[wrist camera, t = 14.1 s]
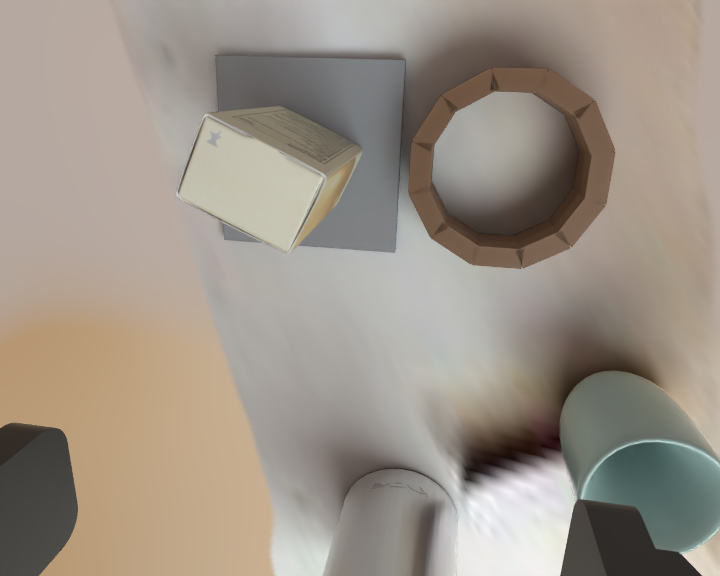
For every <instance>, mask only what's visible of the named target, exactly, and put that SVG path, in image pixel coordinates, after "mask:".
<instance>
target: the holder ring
mask: <svg viewBox="0 0 720 576" xmlns="http://www.w3.org/2000/svg"><path fill="white" fill-rule="evenodd" d="M494 91H499V92H529V93H533V94H535V95H536V96H538V97H539V98H541V99H542V100H544V101H545V102H547V103H548V104H549V105H551V106H552V107H554V108H555V109H557V110H558V111H560V112H561V113H563V114H564V115H565V118H566V120H567V122H568V125H569V127H570V130H571V132H572V134H573V137H574V139H575V141H576V144H577V146H578V149H579V154H578V161H577V167H576V173H575V180H574V186H573V190H572V191H571V192H570V193H569V195H568V196H567V197H566V199H565V200H564V201H563V202H562V204H561V205H560V206H559V207H558V209H557V210H556V211H555V213H554V214H553V215H552V216H551V218H550V219H549V220H547V221H545V222H543V223H540V224H538V225H536V226H534V227H532V228H529V229H527V230H525V231H523V232H520V233H518V234H516V235H501V234H486V233H477V232H475V231H474V230H472V229H471V228H469V227H468V226H466V225H465V224H463V223H462V222H460V221H458V220H457V219H455V218H454V217H452V216H451V215H449V214H448V213H447V211H446V209H445V207H444V205H443V203H442V201H441V199H440V197H439V195H438V193H437V191H436V189H435V187H434V185H433V183H432V169H433V156H434V144H435V143H436V141H437V140H438V138H439V137H440V135H441V134H442V132H443V131H444V129H445V128H446V126H447V125H448V123H449V121H450V120H451V118H452V117H453V115H454V114H455V112H457V111H458V110H460V109H462V108H464V107H466V106H468V105H470V104H472V103H473V102H475V101H477V100H479V99H481V98H483V97H485V96H487V95H488V94H490V93H492V92H494ZM442 95H443V96H440V98H439V99H438V101H437V102H436V104H435V105H434V107H433V109H432V110H431V112H430V113H429V115H428V116H427V118H426V120H425V121H424V123H423V124H422V126H421V127H420V129H419V130H418V132H417V134H416V135H415V137H414V138H413V140H412V142H411V158H410V174H409V190H408V193H409V196H410V198H411V200H412V202H413V204H414V206H415V208H416V210H417V212H418V214H419V216H420V218H421V220H422V222H423V224H424V226H425V228H426V230H427V232H428V234H429V236H430V237H431V239H433V240H435V241H436V242H438V243H439V244H441V245H442V246H444V247H445V248H447V249H448V250H450V251H451V252H453V253H454V254H456V255H457V256H459V257H460V258H462V259H463V260H465V261H466V262H468V263H469V264H472V265H479V266H492V267H505V268H518V269H521V268H522V267H523V268H525V267H528V266H530V265H532V264H535V263H537V262H539V261H542V260H544V259H546V258H549V257H551V256H553V255H556V254H558V253H560V252H563V251H565V250H567V249H570V246H571V247H572V246H573V245H574V244H575V243H576V241H577V240H578V239H579V238H580V237H581V235H582V234H583V233H584V232H585V230H586V229H587V228H588V227H589V226H590V224H591V223H592V222H593V221H594V219H595V218H596V217H597V216H598V215H599V213H600V212H601V211H602V210H603V208H604V207H605V205H603V204H606V203H607V197H608V191H609V186H610V180H611V174H612V169H613V163H614V157H615V152H614V151H615V148H614V146H613V143H612V141H611V138H610V136H609V133H608V131H607V128H606V126H605V123H604V121H603V119H602V116H601V114H600V111H599V109H598V106H597V104H596V101H594V99H593V98H591V97H590V96H588V95H587V94H585V93H584V92H582V91H581V90H579V89H578V88H577V87H575V86H574V85H572V84H571V83H569V82H568V81H566V80H565V79H563V78H562V77H560V76H559V75H557V74H556V73H554V72H553V71H551V70H550V69H549V70H548V69H539V68H502V67H492V68H489V69H488V70H486V71H484V72H482V73H480V74H478V75H477V76H475V77H473V78H471V79H469V80H467V81H466V82H464V83H462V84H460V85H458V86H456V87H455V88H453V89H451V90H449V91H447V92H445V93H444V94H442Z"/></svg>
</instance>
